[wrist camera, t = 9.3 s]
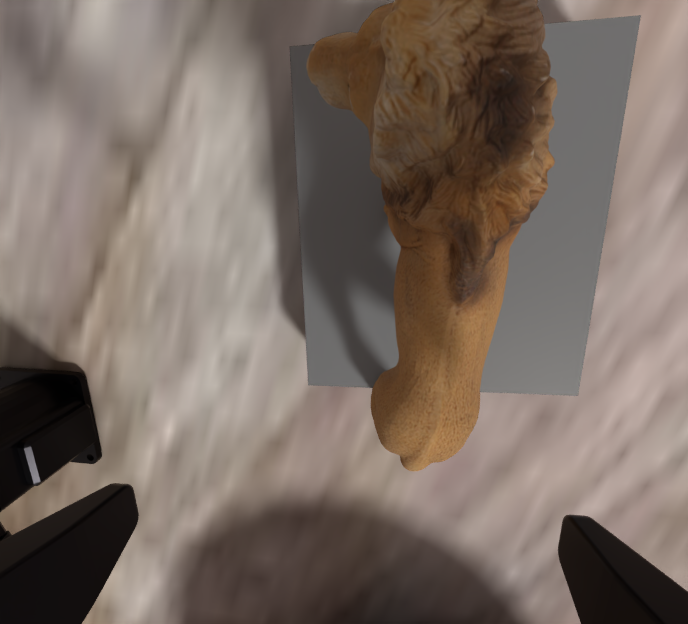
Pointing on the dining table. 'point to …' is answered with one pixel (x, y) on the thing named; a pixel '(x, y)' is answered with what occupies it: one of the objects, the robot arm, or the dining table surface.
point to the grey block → (525, 252)
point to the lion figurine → (445, 189)
